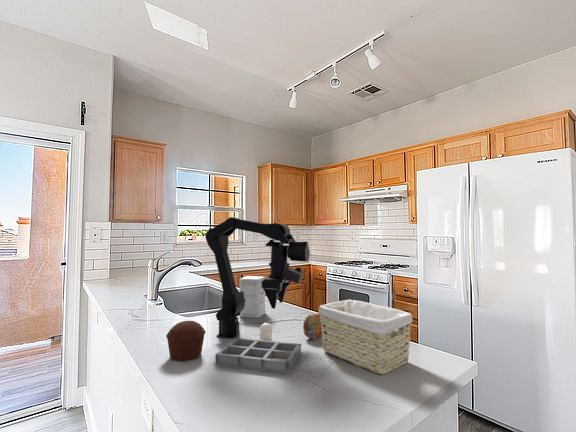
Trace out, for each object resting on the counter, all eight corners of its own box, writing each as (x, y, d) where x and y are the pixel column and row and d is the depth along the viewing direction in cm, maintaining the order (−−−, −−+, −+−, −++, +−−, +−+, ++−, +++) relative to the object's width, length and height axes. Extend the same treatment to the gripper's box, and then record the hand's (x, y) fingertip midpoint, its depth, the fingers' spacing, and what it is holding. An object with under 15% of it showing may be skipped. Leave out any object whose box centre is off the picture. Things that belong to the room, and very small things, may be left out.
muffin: (188, 366, 90) (189, 329, 90) (157, 360, 93) (157, 325, 94) (212, 351, 101) (213, 319, 101) (183, 347, 104) (184, 315, 105)
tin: (308, 342, 109) (308, 317, 110) (301, 339, 112) (301, 315, 112) (336, 333, 120) (336, 310, 120) (329, 331, 122) (329, 308, 122)
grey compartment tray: (215, 365, 90) (215, 354, 90) (236, 347, 104) (236, 337, 105) (288, 374, 85) (288, 362, 85) (300, 353, 99) (300, 343, 99)
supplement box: (265, 313, 148) (266, 276, 149) (259, 318, 139) (259, 279, 140) (246, 311, 150) (246, 275, 151) (238, 316, 141) (239, 278, 142)
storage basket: (415, 363, 92) (414, 311, 93) (383, 380, 82) (382, 321, 83) (349, 341, 111) (349, 298, 111) (316, 352, 100) (316, 304, 101)
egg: (258, 342, 109) (258, 324, 109) (262, 338, 113) (262, 320, 113) (269, 343, 108) (269, 325, 108) (273, 339, 112) (273, 321, 112)
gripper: (295, 264, 100) (293, 314, 100) (307, 258, 118) (305, 301, 118) (261, 261, 103) (259, 310, 102) (278, 257, 121) (276, 298, 120)
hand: (277, 305), depth 111 cm, fingers open, 9 cm apart
